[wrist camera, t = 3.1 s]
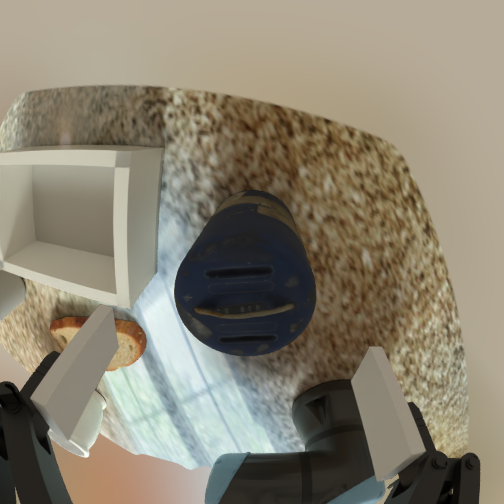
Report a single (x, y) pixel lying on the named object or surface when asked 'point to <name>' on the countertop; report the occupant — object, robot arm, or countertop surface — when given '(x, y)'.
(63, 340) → the bread slice
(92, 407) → the jar
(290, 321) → the canister
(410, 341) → the countertop surface
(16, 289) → the can
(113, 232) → the open box
